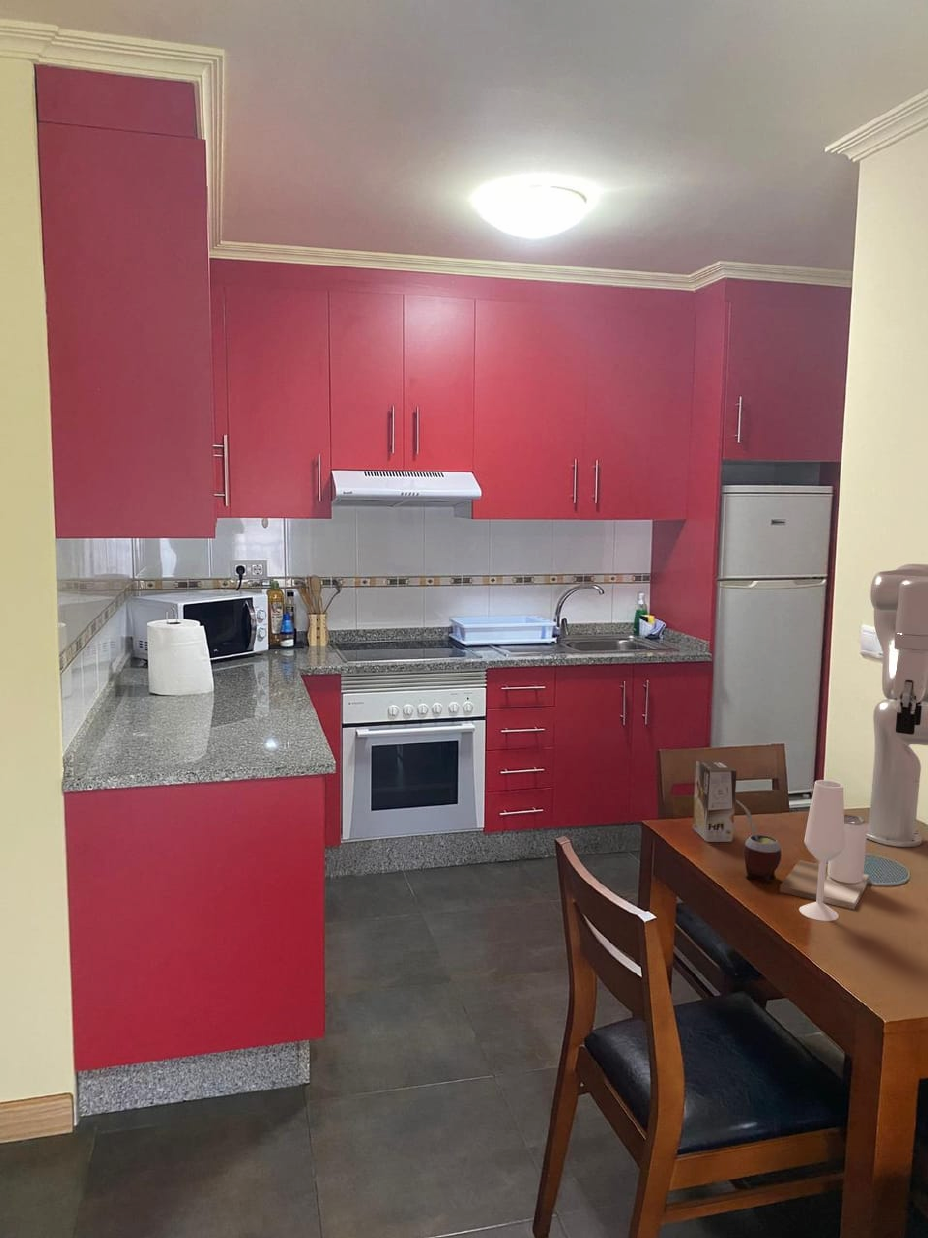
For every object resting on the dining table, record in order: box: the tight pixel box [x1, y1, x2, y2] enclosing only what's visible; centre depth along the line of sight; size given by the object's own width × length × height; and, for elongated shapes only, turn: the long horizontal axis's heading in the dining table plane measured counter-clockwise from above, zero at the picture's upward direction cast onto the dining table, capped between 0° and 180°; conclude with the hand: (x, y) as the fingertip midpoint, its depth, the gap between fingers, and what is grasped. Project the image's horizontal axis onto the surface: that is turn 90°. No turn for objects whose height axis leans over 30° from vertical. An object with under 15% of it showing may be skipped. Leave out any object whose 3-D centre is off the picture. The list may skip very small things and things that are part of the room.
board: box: [779, 859, 870, 910], centre depth 175 cm, size 16×13×1 cm
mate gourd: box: [735, 799, 782, 886], centre depth 178 cm, size 8×8×15 cm
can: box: [827, 813, 868, 884], centre depth 176 cm, size 6×6×12 cm
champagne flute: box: [798, 779, 845, 922], centre depth 162 cm, size 7×7×24 cm
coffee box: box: [692, 759, 737, 843], centre depth 201 cm, size 9×6×16 cm
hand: (908, 728), depth 178 cm, fingers open, 9 cm apart
